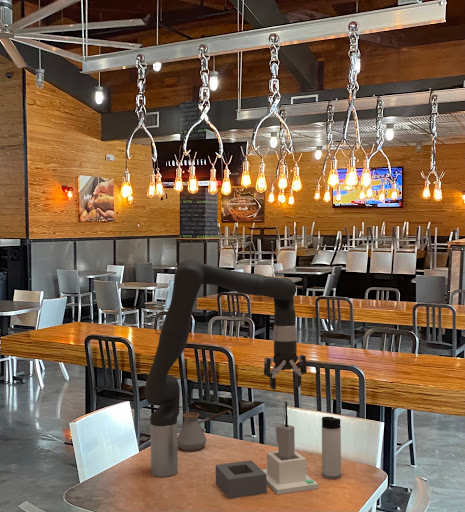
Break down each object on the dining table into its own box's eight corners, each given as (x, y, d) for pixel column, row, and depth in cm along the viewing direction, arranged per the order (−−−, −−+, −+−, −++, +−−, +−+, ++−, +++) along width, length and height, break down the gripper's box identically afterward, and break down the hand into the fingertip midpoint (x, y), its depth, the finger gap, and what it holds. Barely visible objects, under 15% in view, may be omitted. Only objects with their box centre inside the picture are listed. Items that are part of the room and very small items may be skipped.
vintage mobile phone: (282, 473, 206) (281, 398, 205) (295, 476, 203) (294, 401, 202) (276, 477, 203) (275, 401, 202) (289, 480, 200) (288, 403, 199)
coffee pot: (173, 452, 233) (173, 412, 233) (180, 442, 244) (179, 404, 244) (229, 453, 230) (229, 413, 230) (233, 444, 242) (233, 405, 242)
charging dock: (256, 474, 209) (256, 449, 209) (294, 469, 214) (294, 444, 213) (277, 494, 192) (277, 467, 192) (317, 488, 197) (317, 461, 196)
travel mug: (317, 476, 207) (317, 417, 206) (329, 471, 212) (328, 413, 211) (333, 481, 202) (333, 420, 202) (344, 475, 207) (344, 416, 207)
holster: (215, 483, 202) (215, 464, 202) (251, 478, 206) (251, 460, 206) (228, 498, 189) (228, 479, 189) (266, 493, 193) (266, 474, 193)
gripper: (300, 335, 208) (300, 383, 208) (260, 338, 203) (261, 387, 204) (309, 339, 201) (310, 388, 201) (269, 341, 196) (269, 392, 196)
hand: (285, 387), depth 202 cm, fingers open, 8 cm apart
